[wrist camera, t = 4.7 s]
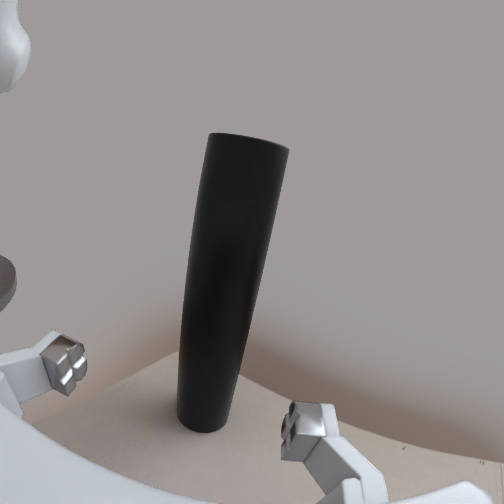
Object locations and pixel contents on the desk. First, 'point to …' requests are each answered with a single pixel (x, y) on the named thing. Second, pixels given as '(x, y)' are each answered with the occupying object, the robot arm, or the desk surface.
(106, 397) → the desk surface
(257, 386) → the desk surface
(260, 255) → the cylinder
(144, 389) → the desk surface
